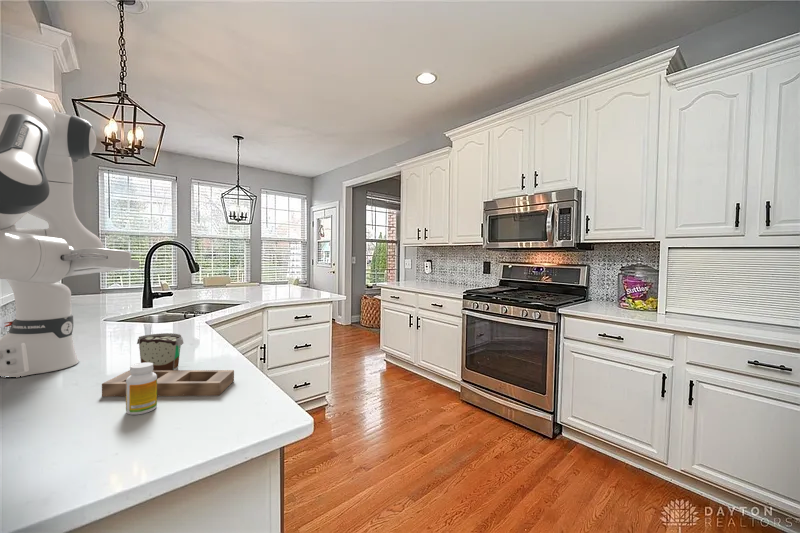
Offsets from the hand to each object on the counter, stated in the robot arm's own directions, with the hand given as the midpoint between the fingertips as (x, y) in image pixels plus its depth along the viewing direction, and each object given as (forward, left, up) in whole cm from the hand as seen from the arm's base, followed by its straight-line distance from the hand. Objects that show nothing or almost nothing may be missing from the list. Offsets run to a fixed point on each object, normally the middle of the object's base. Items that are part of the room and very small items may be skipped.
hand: (121, 266), depth 80 cm
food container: (-1, +20, -30) cm, 36 cm away
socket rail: (+8, +6, -30) cm, 32 cm away
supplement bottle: (+8, -6, -30) cm, 32 cm away
